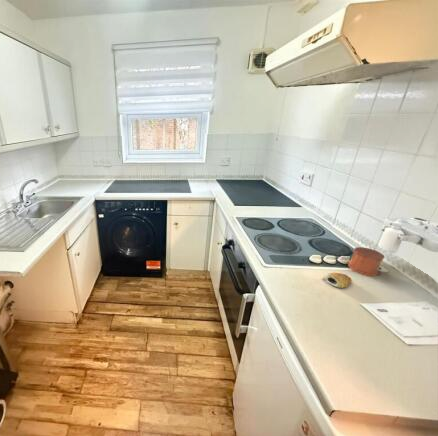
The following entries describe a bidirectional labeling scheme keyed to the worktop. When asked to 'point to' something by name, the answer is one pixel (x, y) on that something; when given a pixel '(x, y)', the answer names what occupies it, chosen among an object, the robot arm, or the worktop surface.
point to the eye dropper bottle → (391, 237)
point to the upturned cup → (366, 261)
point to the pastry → (338, 280)
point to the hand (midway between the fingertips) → (391, 233)
